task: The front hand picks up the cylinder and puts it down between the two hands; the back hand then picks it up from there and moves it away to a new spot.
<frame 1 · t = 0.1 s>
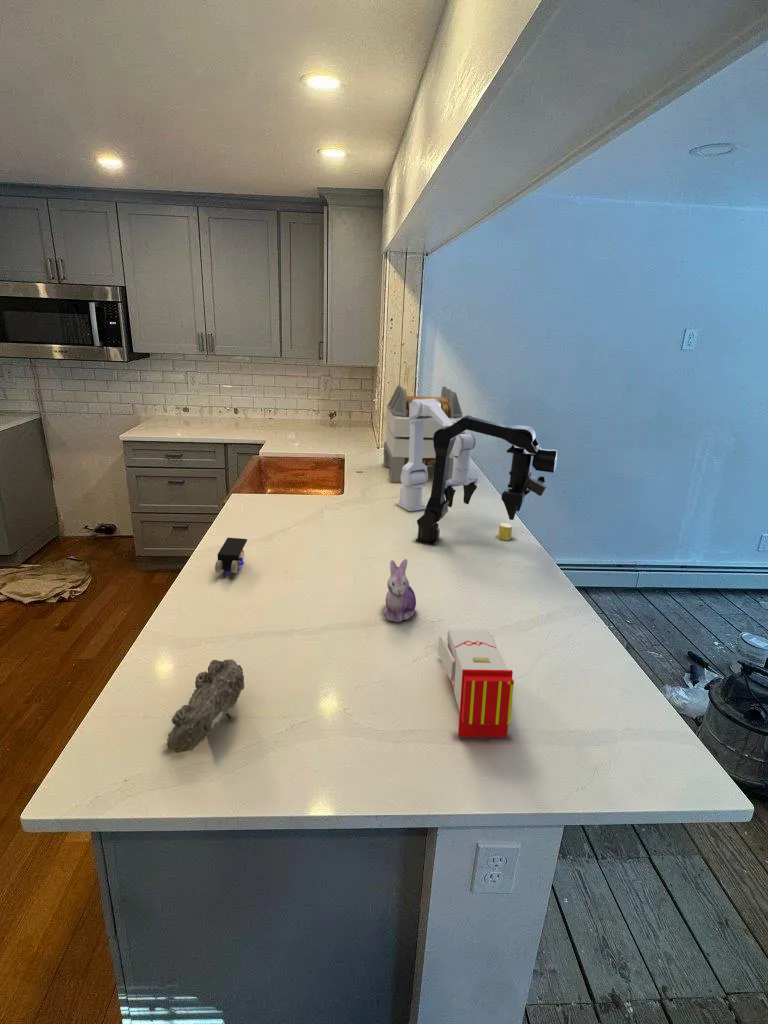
front hand: (514, 515, 180), 15 cm above the counter, tool pointing down, fingers open, 9 cm apart
back hand: (457, 504, 201), 10 cm above the counter, tool pointing down, fingers open, 7 cm apart
toy: (469, 691, 119), on the counter
black wheeled block: (232, 569, 168), on the counter
transformer: (419, 473, 275), on the counter
fossil: (212, 717, 108), on the counter
figurine: (399, 614, 147), on the counter
cylinder: (504, 537, 201), on the counter
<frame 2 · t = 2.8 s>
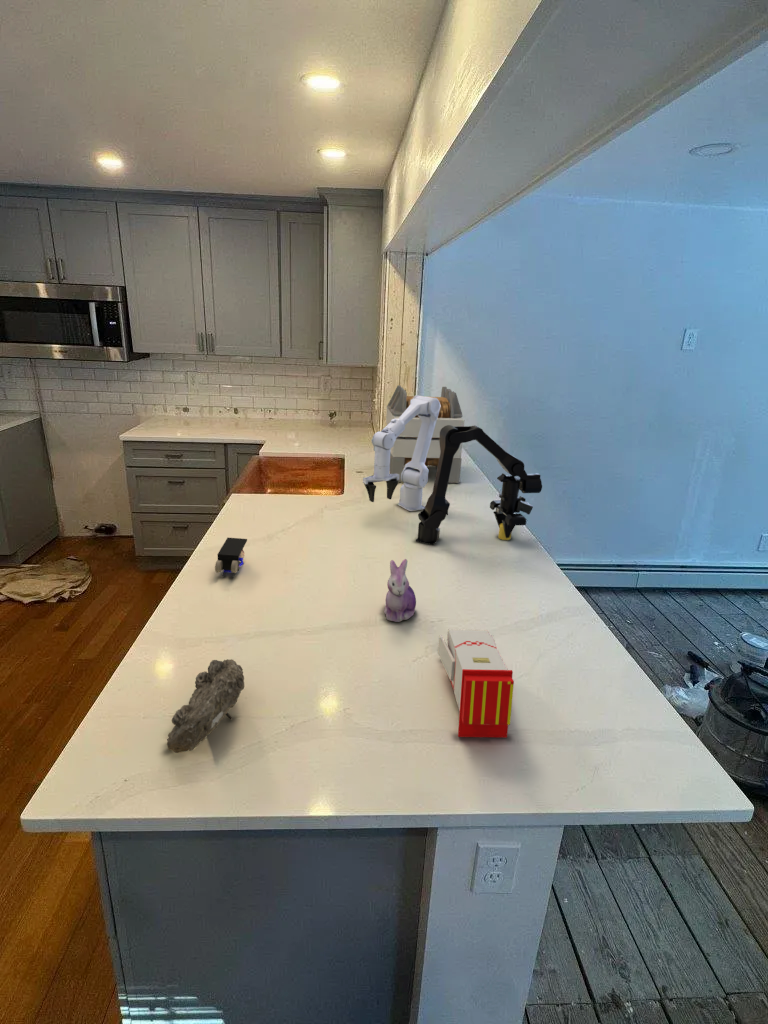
front hand: (504, 535, 200), 1 cm above the counter, tool pointing down, fingers closed on cylinder, 4 cm apart
back hand: (380, 499, 211), 7 cm above the counter, tool pointing down, fingers open, 7 cm apart
cylinder: (504, 537, 201), on the counter, touching front hand
everything else where it was.
when the front hand's fingers open (2 cm above the counter, at t = 8.2 s): cylinder stays where it is, on the counter.
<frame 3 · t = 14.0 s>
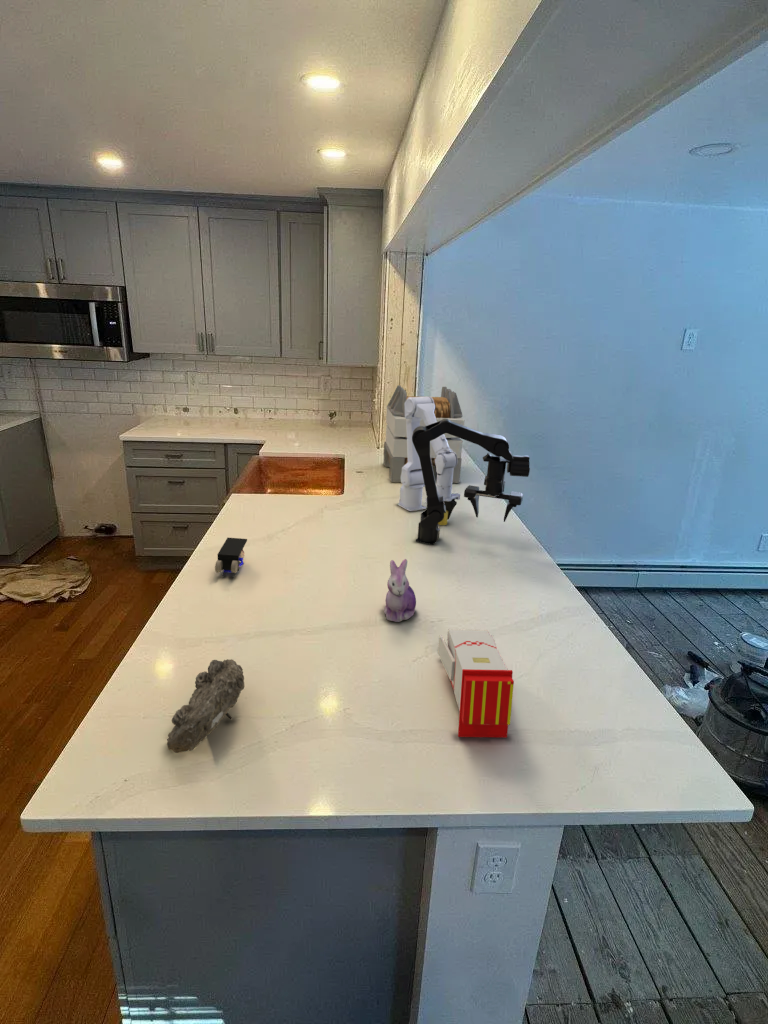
front hand: (490, 519, 191), 9 cm above the counter, tool pointing down, fingers open, 9 cm apart
back hand: (441, 519, 211), 1 cm above the counter, tool pointing down, fingers closed on cylinder, 4 cm apart
cylinder: (441, 523, 212), on the counter, touching back hand
everything else where it was.
when the back hand's fingers open (2 cm above the counter, at t = 19.8 s): cylinder stays where it is, on the counter.
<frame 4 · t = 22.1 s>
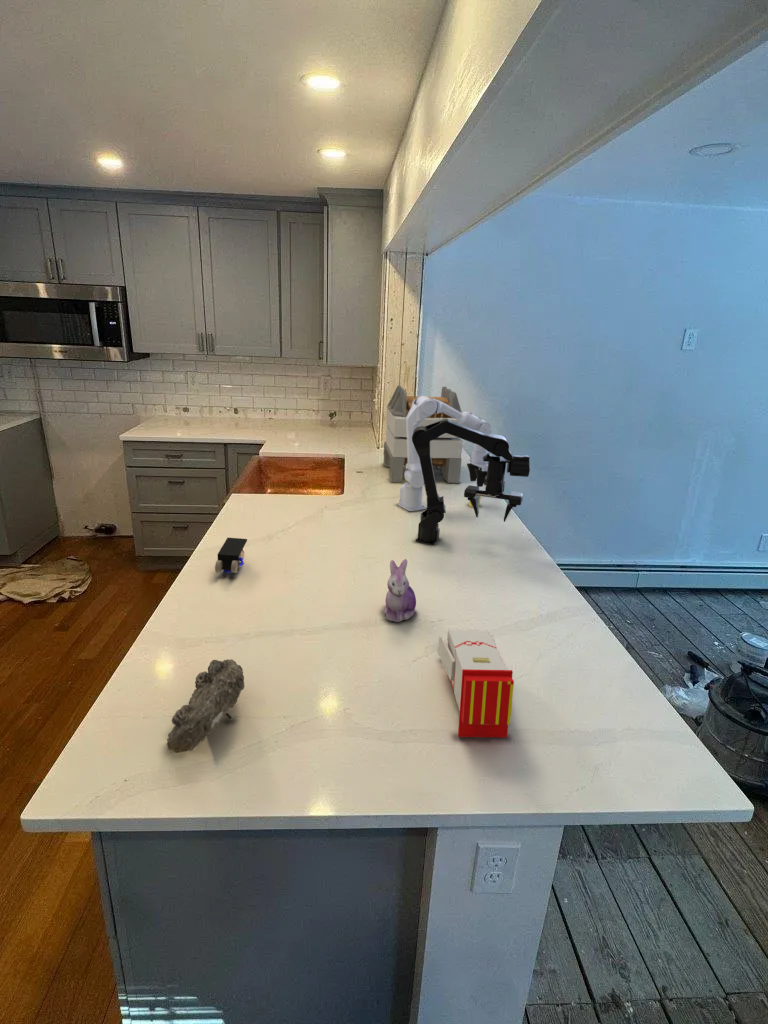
front hand: (490, 519, 191), 9 cm above the counter, tool pointing down, fingers open, 9 cm apart
back hand: (476, 483, 230), 9 cm above the counter, tool pointing down, fingers open, 7 cm apart
cylinder: (474, 505, 233), on the counter
everything else where it was.
at the end: cylinder inside the target area (0.1 cm from its centre), on the counter; cylinder tilted 0°; the two hands never held the cylinder at the same time; the front hand is holding nothing; the back hand is holding nothing; cylinder at rest at the end (0.0 cm/s) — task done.
